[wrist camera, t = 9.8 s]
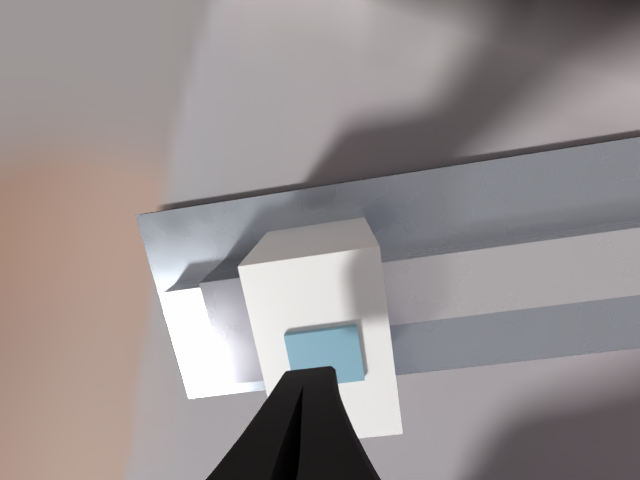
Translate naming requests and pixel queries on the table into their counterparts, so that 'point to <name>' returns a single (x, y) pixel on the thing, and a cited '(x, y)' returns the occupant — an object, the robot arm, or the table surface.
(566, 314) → the rail
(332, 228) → the block
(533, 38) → the table surface
